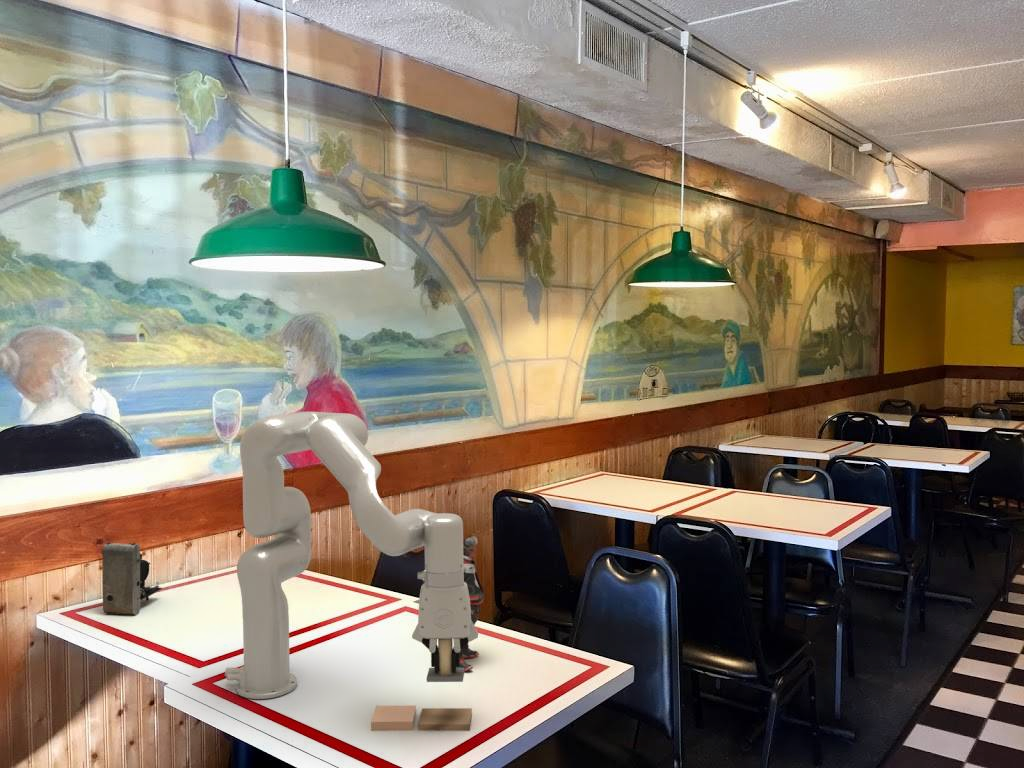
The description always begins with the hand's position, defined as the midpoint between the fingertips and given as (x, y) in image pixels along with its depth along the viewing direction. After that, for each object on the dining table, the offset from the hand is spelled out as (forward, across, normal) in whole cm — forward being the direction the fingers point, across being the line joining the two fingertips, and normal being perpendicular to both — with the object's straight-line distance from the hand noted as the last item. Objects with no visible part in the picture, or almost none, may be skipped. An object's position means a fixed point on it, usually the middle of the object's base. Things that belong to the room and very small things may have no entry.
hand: (445, 669), depth 164 cm
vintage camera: (+10, -94, +72) cm, 119 cm away
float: (+1, 0, 0) cm, 1 cm away
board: (+11, 0, 0) cm, 11 cm away
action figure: (+11, +2, +31) cm, 32 cm away
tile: (+10, -14, 0) cm, 17 cm away
